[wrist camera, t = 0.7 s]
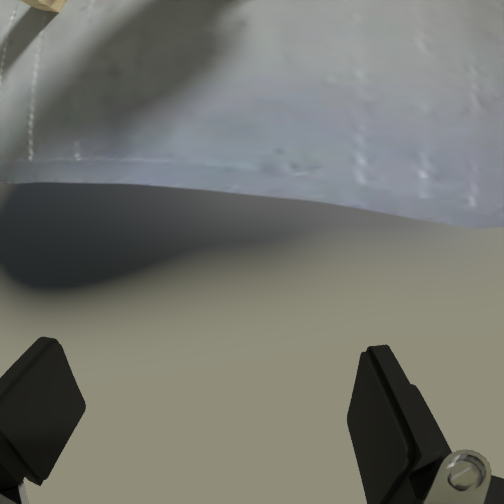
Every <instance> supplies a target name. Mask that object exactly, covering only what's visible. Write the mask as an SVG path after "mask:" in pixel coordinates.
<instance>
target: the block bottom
mask: <svg viewBox="0 0 504 504" xmlns="http://www.w3.org/2000/svg"><path fill="white" fill-rule="evenodd" d="M20 1H22V2H24V3H26V4H28V5H30V6H32V7H34V8H36V9H38V10H45V11H52V12H58V13H59V12H60V11H61V9H62V8H63V6H64V5H65V3H66V1H67V0H39V1H35V0H20Z"/></svg>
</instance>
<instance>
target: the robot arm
mask: <svg viewBox="0 0 504 504" xmlns="http://www.w3.org/2000/svg"><path fill="white" fill-rule="evenodd" d="M85 408H86V405H85V401H84V399H83V397H82V394H81V392H80V390H79V388H78V386H77V383H76V381H75V378H74V376H73V374H72V371H71V369H70V366H69V364H68V361H67V358H66V356H65V353H64V350H63V348H62V346H61V345H60V344H59V342H58V341H57V340H56V339H54V338H47V337H40V338H39V339H38V340H37V341H36V342H35V343H34V344H33V345H32V346H31V347H30V348H29V349H28V350H27V351H26V352H25V353H24V354H23V355H22V356H21V357H20V358H19V359H18V360H17V361H16V362H15V363H14V364H13V365H12V366H11V367H10V368H9V369H8V370H7V371H6V373H5V374H4V375H3V376H2V377H1V378H0V504H29V502H28V498H27V494H26V490H25V485H24V481H23V479H24V477H26V478H27V479H28V480H29V481H31V482H33V483H35V484H37V485H39V486H41V484H42V482H43V480H46V479H47V478H48V476H49V474H50V472H51V471H52V469H53V467H54V465H55V463H56V461H57V459H58V457H59V456H60V454H61V452H62V450H63V449H64V447H65V445H66V443H67V441H68V440H69V438H70V436H71V434H72V433H73V431H74V429H75V427H76V426H77V424H78V422H79V420H80V419H81V417H82V415H83V413H84V412H85ZM347 424H348V428H349V432H350V435H351V440H352V443H353V447H354V451H355V455H356V459H357V463H358V467H359V471H360V475H361V479H362V483H363V487H364V491H365V496H366V500H367V504H504V479H503V478H499V477H496V476H493V475H491V468H490V464H489V462H488V461H487V459H486V458H485V457H484V456H482V455H481V454H480V453H478V452H475V451H473V450H458V451H456V452H453V453H452V452H451V450H450V448H449V446H448V444H447V442H446V440H445V438H444V436H443V434H442V432H441V430H440V428H439V426H438V424H437V422H436V420H435V419H434V417H433V415H432V413H431V411H430V409H429V408H428V406H427V404H426V402H425V401H424V398H423V397H422V395H421V393H420V391H419V390H418V388H417V387H416V386H415V385H413V384H410V382H409V381H408V379H407V377H406V375H405V373H404V372H403V370H402V368H401V366H400V365H399V363H398V361H397V359H396V358H395V356H394V354H393V352H392V351H391V349H390V347H389V346H388V345H379V346H369V347H368V348H367V350H366V352H362V353H361V356H360V360H359V366H358V370H357V375H356V380H355V384H354V389H353V393H352V398H351V402H350V406H349V411H348V414H347Z"/></svg>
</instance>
